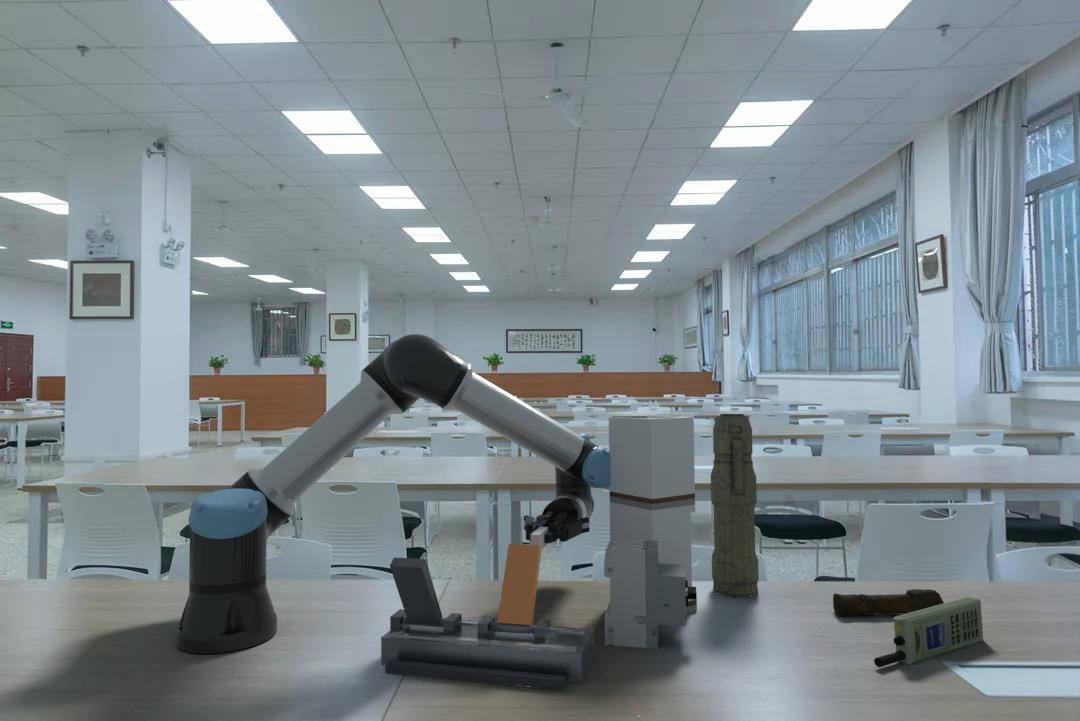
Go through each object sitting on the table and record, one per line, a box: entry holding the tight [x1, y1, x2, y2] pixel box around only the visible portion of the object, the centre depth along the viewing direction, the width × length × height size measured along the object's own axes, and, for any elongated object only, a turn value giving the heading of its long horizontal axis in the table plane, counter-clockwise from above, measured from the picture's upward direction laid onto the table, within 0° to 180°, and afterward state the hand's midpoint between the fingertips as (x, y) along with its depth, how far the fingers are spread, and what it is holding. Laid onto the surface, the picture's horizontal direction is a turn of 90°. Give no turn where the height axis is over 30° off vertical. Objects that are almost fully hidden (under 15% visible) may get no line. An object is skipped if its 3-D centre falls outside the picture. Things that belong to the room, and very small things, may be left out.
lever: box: [492, 543, 542, 634], centre depth 107 cm, size 6×2×13 cm
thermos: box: [710, 413, 760, 599], centre depth 139 cm, size 9×12×35 cm
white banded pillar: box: [608, 415, 698, 615], centre depth 129 cm, size 11×11×35 cm
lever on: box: [389, 557, 444, 627], centre depth 104 cm, size 6×2×13 cm
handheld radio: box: [873, 596, 984, 668], centre depth 106 cm, size 7×3×25 cm
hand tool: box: [832, 588, 945, 618], centre depth 123 cm, size 19×4×5 cm, turn 86°
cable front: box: [384, 660, 566, 691], centre depth 97 cm, size 26×1×1 cm, turn 76°
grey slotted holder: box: [380, 608, 594, 684], centre depth 104 cm, size 30×10×6 cm, turn 76°
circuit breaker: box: [603, 538, 698, 649], centre depth 113 cm, size 8×14×15 cm, turn 78°
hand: (535, 542), depth 115 cm, fingers closed
